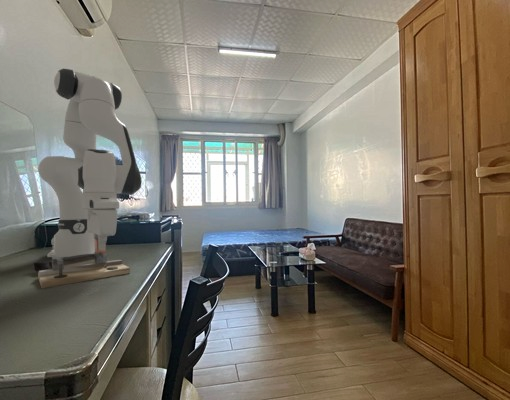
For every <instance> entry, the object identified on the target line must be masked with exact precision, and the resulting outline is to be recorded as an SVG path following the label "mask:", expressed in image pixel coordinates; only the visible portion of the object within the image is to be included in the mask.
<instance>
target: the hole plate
mask: <svg viewBox="0 0 510 400" xmlns="http://www.w3.org/2000/svg"><path fill="white" fill-rule="evenodd" d="M64 258H65V257H63V256H62V257H51V260H52V269H48V270H41V271H39V272H37V273H38V274H37V276H38V277H37V278H38V279H37V280H38V282H39V284H40V287H41V289H46V288H51V287H57V286H62V285H63V286H64V285H69V284H74V283H80V282H86V281H92V280H97V279H103V278H108V277H109V278H110V277H116V276H122V275H127V274H131V267H129V266H127V265H125V264H123V260H122V259H116V260H115V259H114V260H107V268H104V263H98V264H97V263H92V264H85V265H77V266H70V267H64Z"/></svg>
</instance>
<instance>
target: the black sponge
mask: <svg viewBox="0 0 510 400" xmlns="http://www.w3.org/2000/svg"><path fill="white" fill-rule="evenodd" d="M92 263H95V253H93V254H83V255H77V256H71V257H64V267H70V266H77V265H85V264H92ZM32 264H33V266H34V271H35V272H37V273H39V271H41V270H48V269H52V259H47V260H42V261H36V262H35V261H34V262H32Z"/></svg>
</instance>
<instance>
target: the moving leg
mask: <svg viewBox="0 0 510 400" xmlns="http://www.w3.org/2000/svg"><path fill="white" fill-rule="evenodd" d="M106 251H107V248H106V249H105V250H99V249H98V239H95V253H94V254H95V263H97V264H98V263H104V268H107V261H108V260H107V259H108V254H107V252H106Z"/></svg>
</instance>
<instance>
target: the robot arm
mask: <svg viewBox="0 0 510 400" xmlns="http://www.w3.org/2000/svg"><path fill="white" fill-rule="evenodd" d="M53 84H54V88H55V92H56V93H57V95H58V96H60V97H61V98H64V99H66V100H69V101H68V104H67V105H68V106H67V108H66V112H65V117H64V125H63V127H64V128H63V135H62V138H63V139H62V140H63V142H64V144H65V145H66V146H67V147H68V148H70V149H71V150H72V152H73V154H74V157H68V156H64V155H63V156H62V155H54V156H51V155H50V156H46V157H44V158H43V159H41V160H40V162H39V164H38V167H37V169H38V175H39V177H40V178H41V180H43V181H44V182H45V183H47V184H48V185H49V186H50V187H51V189H52V190H53V191H54V192H55V195H56V197H57V199H58V200H57V201H58V207H59V209H58V210H59V220H58V221H57V222H58V223H57V229H58V231H57V232H56V233H55V234H54V235H53V237H52V239H51V242H50V243H51V245H52V250H50V252H48V254H47V256H46V257H47V258H53V257H62V256H63V257H64V258H65V257H71V256H77V255H83V254H95V239H98V249H99V250H105V249H106V250H107V240H108V237H111V236H112V237H113V236H115V235H116V232H117V225H118V209H120V201H119V200H118V198H117V197H118V195H117V194H121V195H130V196H131V195H133V194H135V193H137V192H138V191H140V189H141V187H142V176H141V172H140V169H139V166H138V164H137V161H136V156H135V151H134V149H133V144H132V141H131V138H130V134H129V131H128V129H127V126H126V125H125V124H124V123H123V122H122V121H120V119H119V118H118V116H117V114H116V111H117V110H118V109H119V108H120V106H121V104H122V100H123V97H122V96H123V93H122V90H121V88H120V87H119V86H117V85H116V84H114V83H113V82H108V81H106V80H105V79H103V78H100V77H97V76H94V75H90V74H86V73H84V72H79V71H74V70H73V69H69V68H61V69H59V70H58V71H57V73H56V75H54V80H53ZM97 136H99V137H103V139H107V140H108V141H111V142H112V143H113V144H116V146H117V147H118V150H119V153H120V154H119V155H120V158H121V163H122V164H116V158H115V153H114V152H112V151H111V150H107V149H97Z"/></svg>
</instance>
